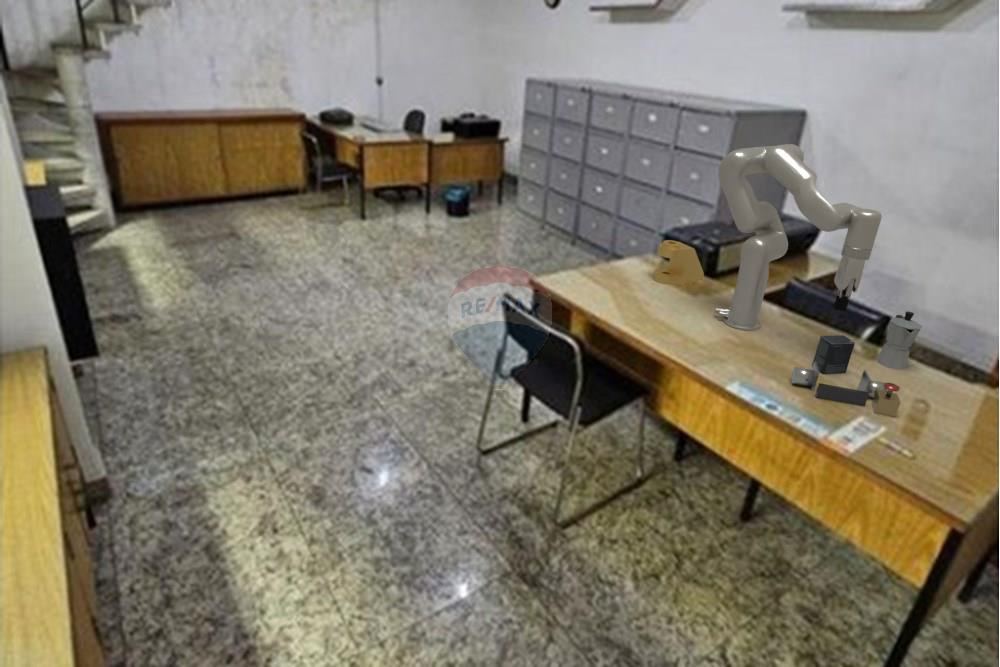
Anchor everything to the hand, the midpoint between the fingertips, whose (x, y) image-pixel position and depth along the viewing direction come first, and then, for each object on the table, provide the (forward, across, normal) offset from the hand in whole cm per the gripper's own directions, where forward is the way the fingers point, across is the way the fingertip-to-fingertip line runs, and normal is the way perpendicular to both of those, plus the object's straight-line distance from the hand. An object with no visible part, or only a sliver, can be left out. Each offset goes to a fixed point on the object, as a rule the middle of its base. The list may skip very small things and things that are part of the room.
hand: (839, 309), depth 194 cm
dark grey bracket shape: (+17, +22, -1) cm, 28 cm away
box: (+17, +10, -1) cm, 19 cm away
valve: (+17, +30, +10) cm, 36 cm away
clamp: (+15, -52, -49) cm, 73 cm away
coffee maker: (+17, -4, +19) cm, 26 cm away
